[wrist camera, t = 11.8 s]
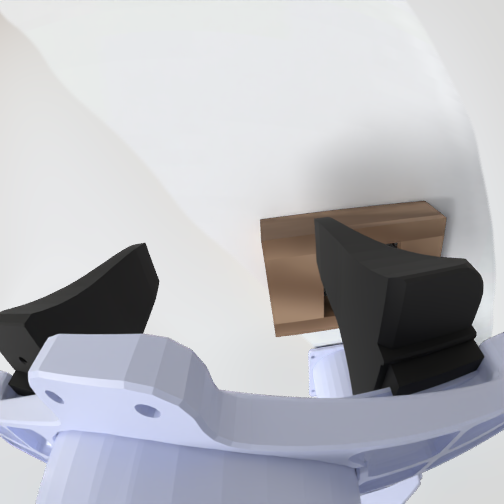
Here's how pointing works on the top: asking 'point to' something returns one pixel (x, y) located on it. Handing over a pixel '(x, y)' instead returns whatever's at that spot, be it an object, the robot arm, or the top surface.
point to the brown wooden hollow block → (305, 266)
